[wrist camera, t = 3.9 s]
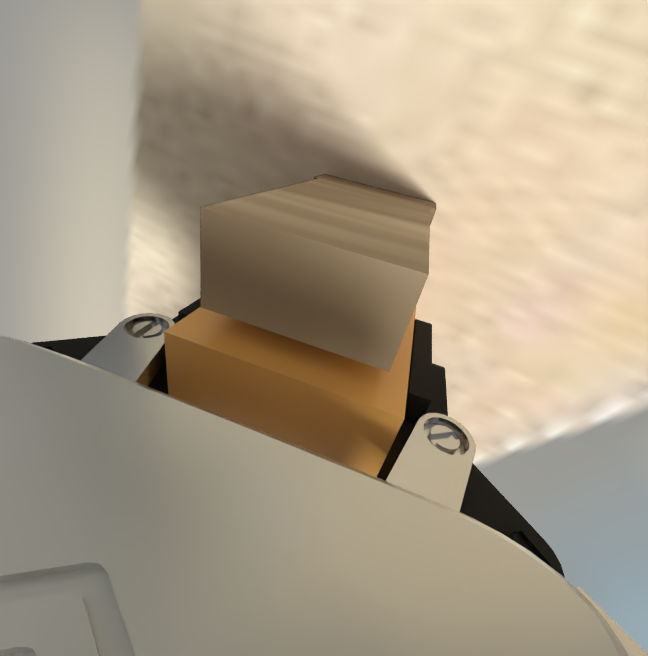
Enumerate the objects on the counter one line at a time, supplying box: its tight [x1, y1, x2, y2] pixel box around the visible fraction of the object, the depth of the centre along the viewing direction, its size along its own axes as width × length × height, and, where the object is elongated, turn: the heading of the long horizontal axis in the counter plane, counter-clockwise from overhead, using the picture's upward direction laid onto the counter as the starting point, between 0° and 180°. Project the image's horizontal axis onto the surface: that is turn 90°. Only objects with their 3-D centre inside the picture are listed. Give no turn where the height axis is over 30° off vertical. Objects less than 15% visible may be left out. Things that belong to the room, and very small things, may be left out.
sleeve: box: [164, 307, 416, 477], centre depth 9 cm, size 4×5×5 cm
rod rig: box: [200, 174, 436, 372], centre depth 13 cm, size 15×4×8 cm, turn 168°
